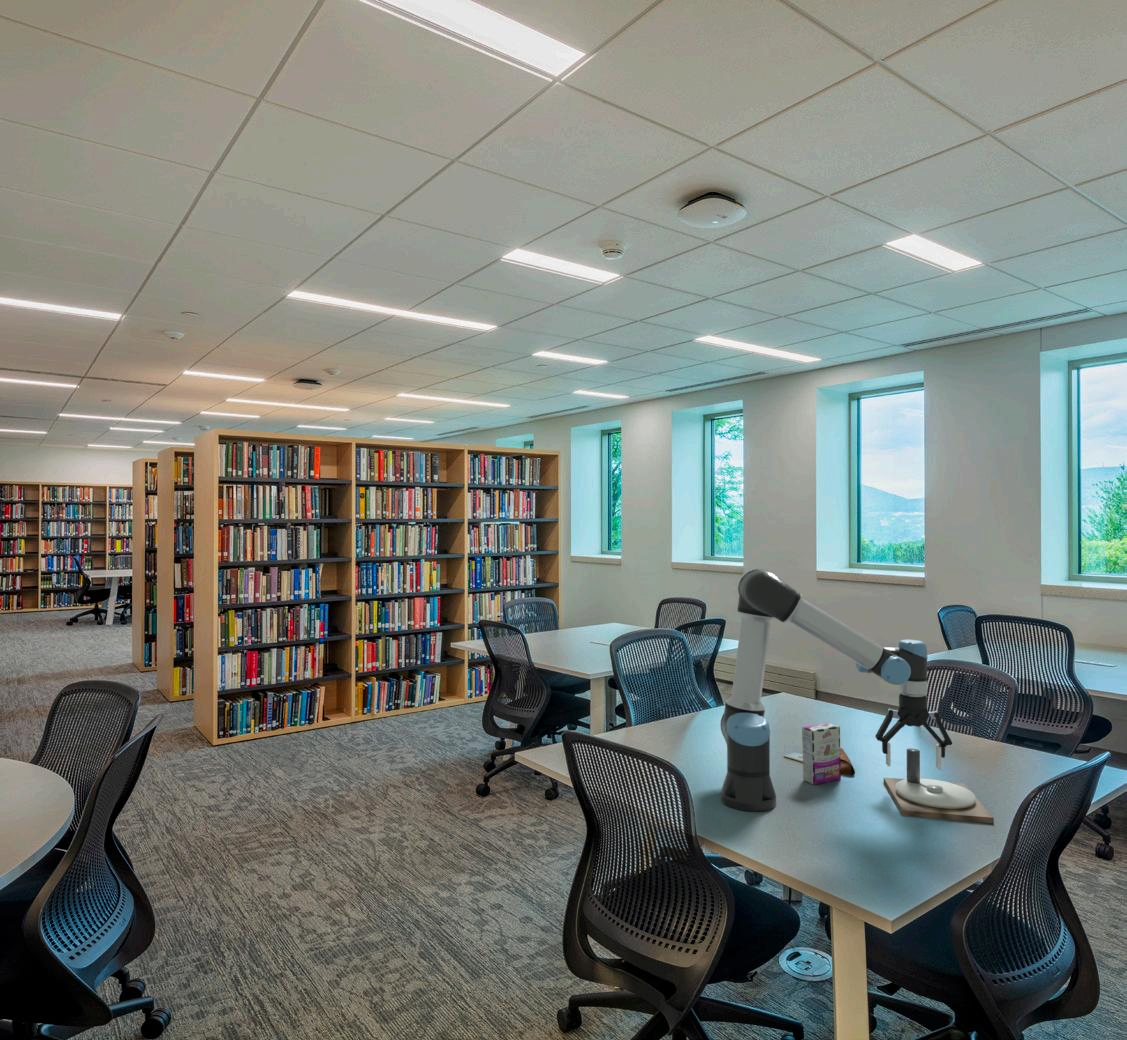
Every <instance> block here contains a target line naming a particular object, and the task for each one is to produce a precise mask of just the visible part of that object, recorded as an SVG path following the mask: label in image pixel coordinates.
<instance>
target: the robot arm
mask: <svg viewBox="0 0 1127 1040" xmlns="http://www.w3.org/2000/svg"><path fill="white" fill-rule="evenodd" d="M737 591H738V602H737V603H738V605H737V610H736V612H737V613H738V615H739V616H740V617H741V618H740V619H741V621H740V626H739V627H740V628H739V636H738V644H737V652H736V661H735V666H734V667H735V668H734V673H733V674H734V676H733V683H732V689H731V696H729V698H727V699H726V700H725V704H724V710H723V714H722V715H721V716H722V717H721V719H720V731H721V734H722V736H723V738H724V741H725V743H726V749H727V750H726V761H727V762H726V767H727V768H726V771H727V772H726V775H725V777H724V781H723V782H722V783H723V785H722V786H721V791H720V800H721V802H722V803H723V804H724V805H726V806H727V807H730V808H732V809H736V810H741V811H747V812H764V811H768V810H771V809H773V808H775V807H776V806H777V794H776V791H775V787H774V785H773V782H772V778H771V775H770V773H771V771H770V770H771V769H770V768H771V767H770V766H771V764H770V763H771V762H770V760H771V759H770V758H771V755H770V751H771V750H770V748H771V747H770V746H771V745H770V743H771V742H770V741H771V740H770V739H771V738H770V737H771V729H770V724H769V721H768V720H767V719H766V718H765V712H766V707H765V705H764V704H763V703H762V701H761V700H762V696H763V686H764V685H763V684H764V678H765V671H766V664H767V662H766V661H767V655H768V647H769V640H770V633H771V632H770V631H771V625H772V622H773V621H774V620H778V621H779V622H781V623H783V624H784V623H790V624H791V625H793V626H794V627H797V628H799V630H802V631H803V632H805V633H807V634H808V635H810V636H812V638H815V639H816V640H818V641H820V642H821V643H823V644H825V645H826V646H828V647H829V648H832V649H833V650H834V651H836V652H838V653H840V654H841V655H843V656H844V657H846V658H848V659H850V660H851V661H853V662H854V664H855V667H856V670H857V671H858V672H860V673H866V674H874V675H876V676H878V677H879V678H880V679H882V680H883V681H885V682H887V683H888V684H891V685H895V686H898V692H899V694H898V708H897V709H892V708H890V707H889V708H886V709H887V710H886V716H885V717H884V719H883V721H882V723H881V724H880V726H879V729H878V730H877V732H876V734H875V736H874V737H875V738H876V741H878V742H881V746H882V747H881V752H882V753H883V754H885V764H886V766H887V767H891V757H892V756H891V743H890V740H891V739H892V738H894V736H895V735H896V734H897V733H899V731H900V730H901V729H902V728H904V727H905V726H908V727H916V728H918V727H919V728H920V727H922V726H923V727H924V728H925V729H926V731H928V733H929V734H930V735H931V736H932V738H934V739H935V741H936V742H937V743H938V744H935V767H936V769H937V770H939V771H941V770H942V758H943V759H944V758H945V757H946V747H947V746H951V745H953V742H952V739H951V738H950V736H949V734H948V732H947V730H946V728H945V727H944V724H943V723H942V720H941V716H940V715H941V713H939V712H938V711H937V710H932V711H928V696H927V694H928V649H927V644H926V643H925V642H924V641H922V640H916V639H901V640H899V642H898V645H897V646H895V647H892V646H891V647H888V646H887V647H886V646H885V647H884V646H881V645H880V644H878V643H877V642H875V641H873V640H872V639H871V638H869V637H867V636H865V635H864V634H862V633H860V632H858V631H857V630H856V629H853V628H852V627H850V626H848V625H847V624H846V623H843V622H842V621H840V620H839V619H837V618H835V617H834V616H832V615H830V614H828V613H827V612H825V611H824V610H822V609H821V608H819V607H817V606H815V605H814V604H813V603H811V602H809V601H807V600H805V599H804V598H803V594H802V593H801V592H800V591H799V592H798V591H797V590H796V589H794V588H793V587H792V586H790V585H789V584H788V583H786V581H784V580H783V579H782V578H780V577H779V576H778V575H777V574H775V573H774V572H771V571H769V570H767V569H761V568H759V569H758V568H756V569H752V570H750V571H747V572H746V573H744V574H743V575H742V577H741V578H740V580H739V582H738V586H737ZM896 715H897V716H898V717H899V719H898V720H897V721H896V723H894V724H893V726H892V727H891V728H890V729H889V730H888V728H889V726H890V724H891V723H892V721H893V718H895V717H896ZM929 717H930V718H931V719H932V720H934V722H935V724H936V726H937V728H938V729H939V732H940V734H941V735H942V738H943V739H941V738H940V736H939V735H938V734H937V733H936V732H935V731H934V729H933V728H932V727H931V726H930V724H928V723H927V720H928V719H929ZM887 730H888V731H887Z"/></svg>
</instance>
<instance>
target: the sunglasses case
mask: <svg viewBox="0 0 1127 1040" xmlns="http://www.w3.org/2000/svg"><path fill="white" fill-rule="evenodd" d="M840 757H841V758H840V760H841V776H852V777H854V776H855V774H856V770H855V768H854V765H853V764H852V762H851V760H850V758H849V757H848V755H847V753H846V752H845V749H843V748H842V747H840Z"/></svg>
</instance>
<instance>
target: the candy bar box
mask: <svg viewBox="0 0 1127 1040" xmlns="http://www.w3.org/2000/svg"><path fill="white" fill-rule="evenodd" d="M801 730H802V732H801V733H802V738H801V739H802V777H803V778H802V780H803V781H804V782H806V783H809V784H810V785H811V784H812V785H814V786H816V785H820V784H824V783H831V782H834V781H838V780H842V775H841V760H840V758H841V757H840V748H841V725H837V724H834V723H831V722H824V723H819V724H815V725H814V724H813V725H807V726H802V728H801Z"/></svg>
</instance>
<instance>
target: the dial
mask: <svg viewBox="0 0 1127 1040" xmlns="http://www.w3.org/2000/svg"><path fill="white" fill-rule="evenodd" d="M904 779H905V780H901V781H899V782H897V783H896V792H897V794H898V795H900V796H901V797H903V798H905V799H907V800H909V801H912V802H915V803H918V804H921V805H926V806H930V807H936V808H946V809H960V808H967V807H970V806H972V805H974V804H975V797H976V794H975V793H973V792H972V790H970V789H969V788H968V789H969V790H968V789H966V788H964V787H962V786H959V785H956V784H953V783H954V782H952V783H949V781H944V780H940V779H939V780H938V779H932V778H922V777H921V751H920V750H919V749H917V748H906V778H904Z"/></svg>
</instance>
